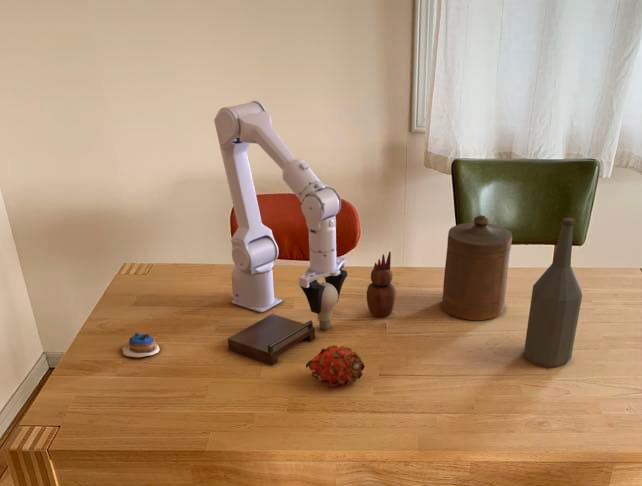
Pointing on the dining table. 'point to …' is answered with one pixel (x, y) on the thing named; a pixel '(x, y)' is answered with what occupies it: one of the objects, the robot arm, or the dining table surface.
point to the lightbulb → (327, 305)
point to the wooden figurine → (381, 289)
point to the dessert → (140, 346)
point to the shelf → (270, 338)
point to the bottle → (554, 307)
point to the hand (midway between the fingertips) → (324, 307)
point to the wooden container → (476, 270)
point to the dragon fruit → (337, 365)
